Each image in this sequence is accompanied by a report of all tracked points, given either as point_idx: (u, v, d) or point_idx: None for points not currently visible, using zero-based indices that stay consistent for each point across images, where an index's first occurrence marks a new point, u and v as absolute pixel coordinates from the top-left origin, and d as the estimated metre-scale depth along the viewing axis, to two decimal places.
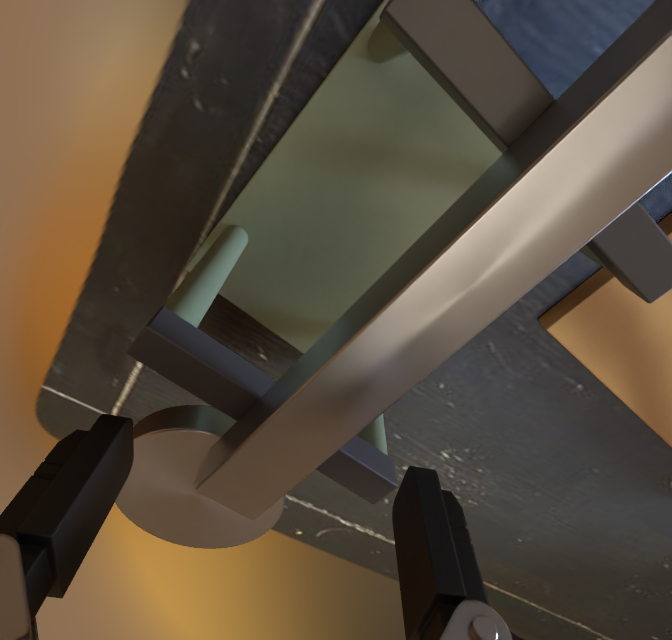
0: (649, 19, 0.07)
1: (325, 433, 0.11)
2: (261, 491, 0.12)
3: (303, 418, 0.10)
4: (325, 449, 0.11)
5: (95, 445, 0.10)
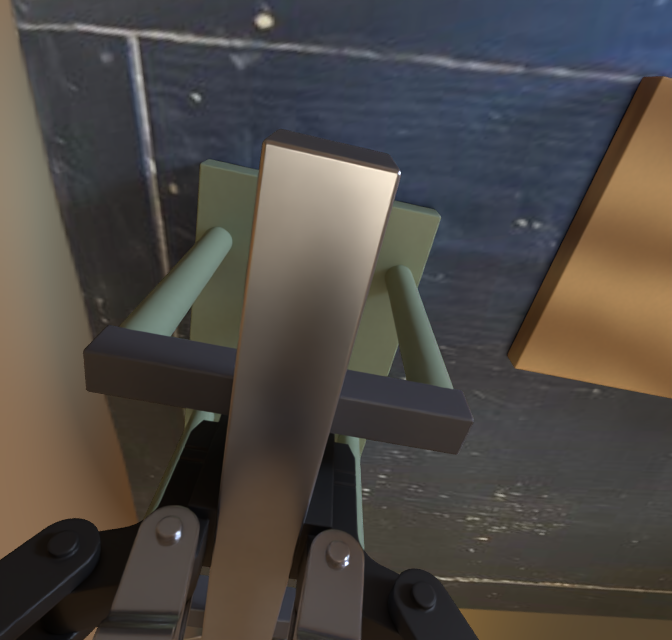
0: None
1: None
2: None
3: None
4: None
5: None
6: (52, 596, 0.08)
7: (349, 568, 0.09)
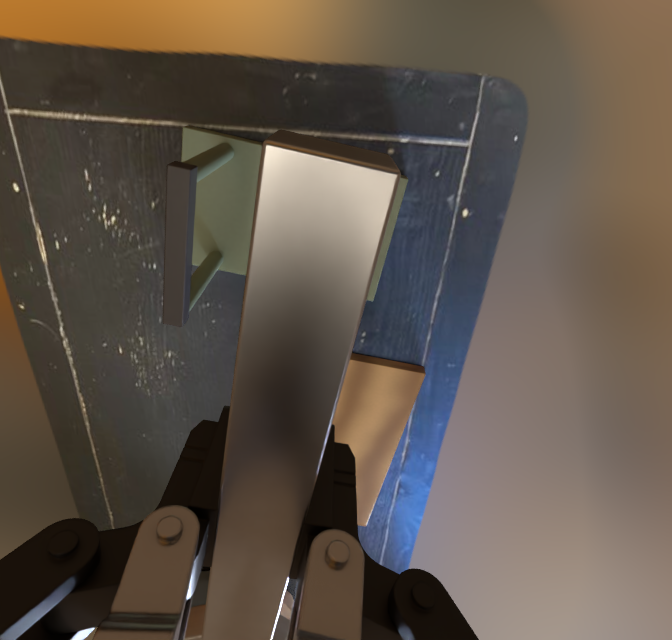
0: None
1: None
2: None
3: None
4: None
5: None
6: (52, 596, 0.08)
7: (349, 568, 0.09)
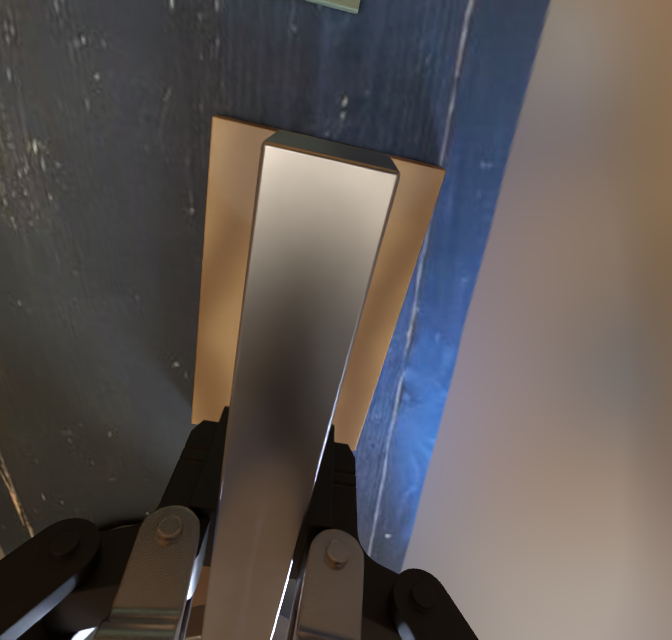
0: None
1: None
2: None
3: None
4: None
5: None
6: (52, 596, 0.08)
7: (349, 568, 0.09)
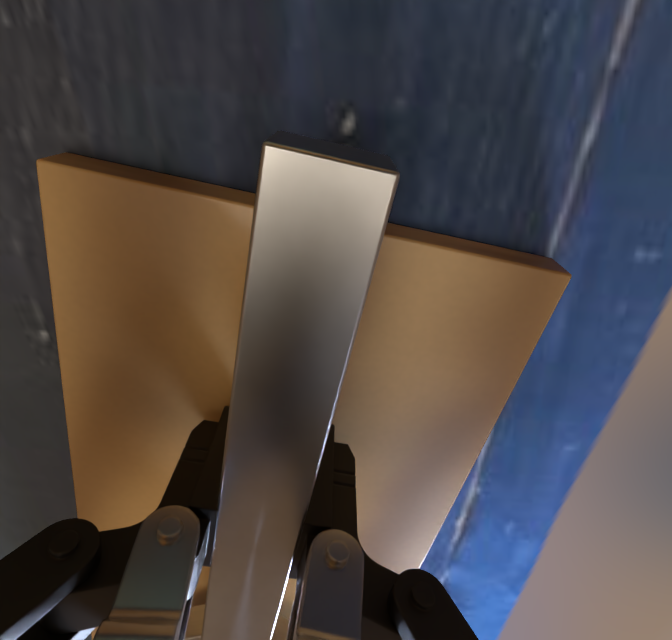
0: None
1: None
2: None
3: None
4: None
5: None
6: (53, 596, 0.08)
7: (349, 568, 0.09)
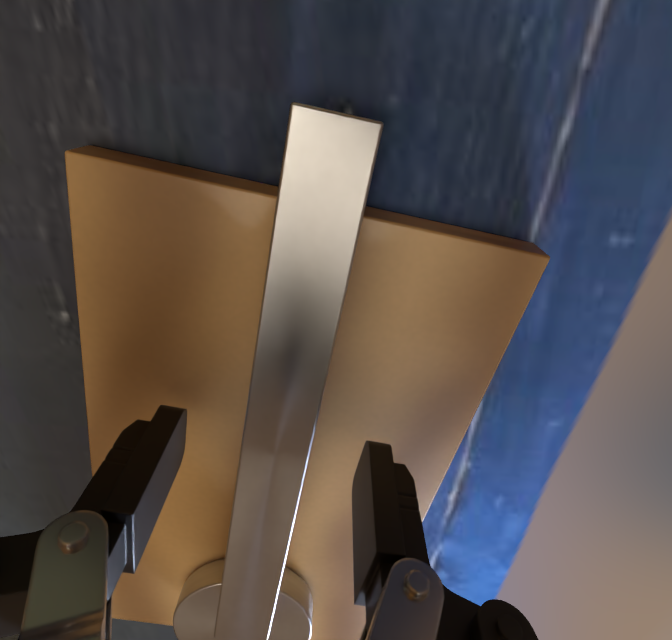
0: None
1: (264, 569, 0.14)
2: (255, 622, 0.15)
3: (242, 566, 0.14)
4: (273, 579, 0.15)
5: (159, 433, 0.11)
6: None
7: (430, 600, 0.09)
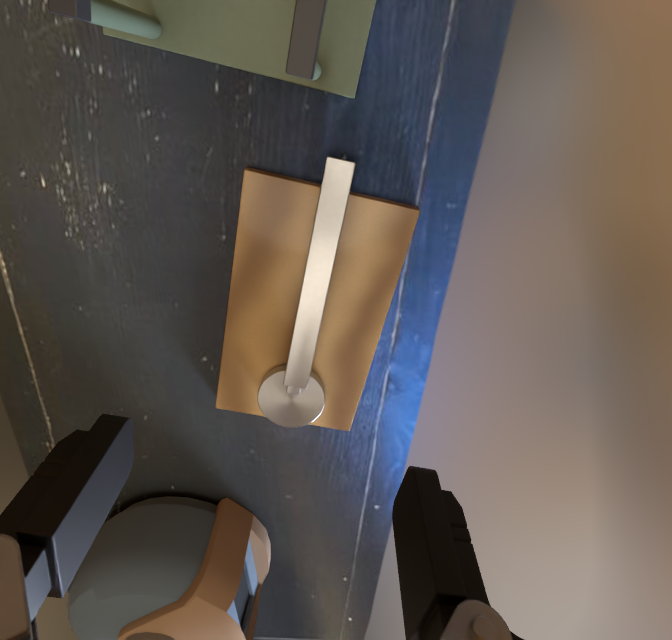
0: (316, 210, 0.31)
1: (307, 345, 0.34)
2: (302, 375, 0.35)
3: (298, 343, 0.34)
4: (311, 350, 0.34)
5: (95, 445, 0.10)
6: None
7: None
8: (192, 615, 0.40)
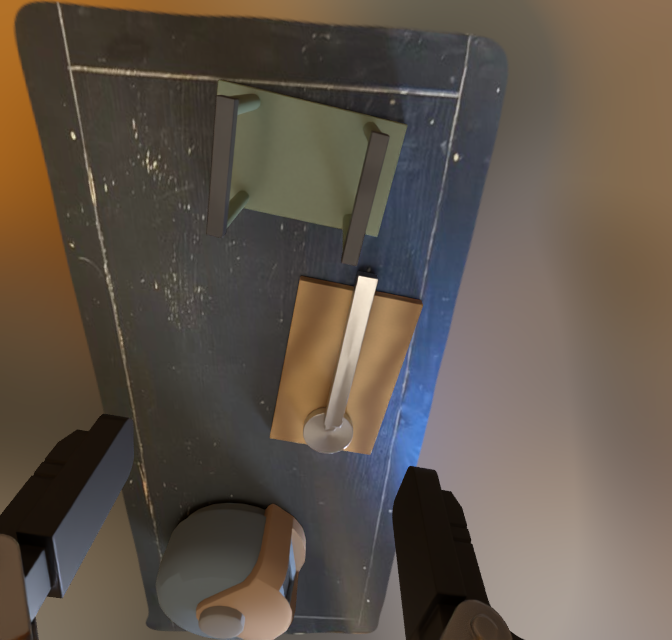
0: (349, 307, 0.44)
1: (342, 397, 0.47)
2: (337, 418, 0.48)
3: (336, 396, 0.47)
4: (344, 401, 0.47)
5: (95, 445, 0.10)
6: None
7: None
8: (254, 592, 0.53)
